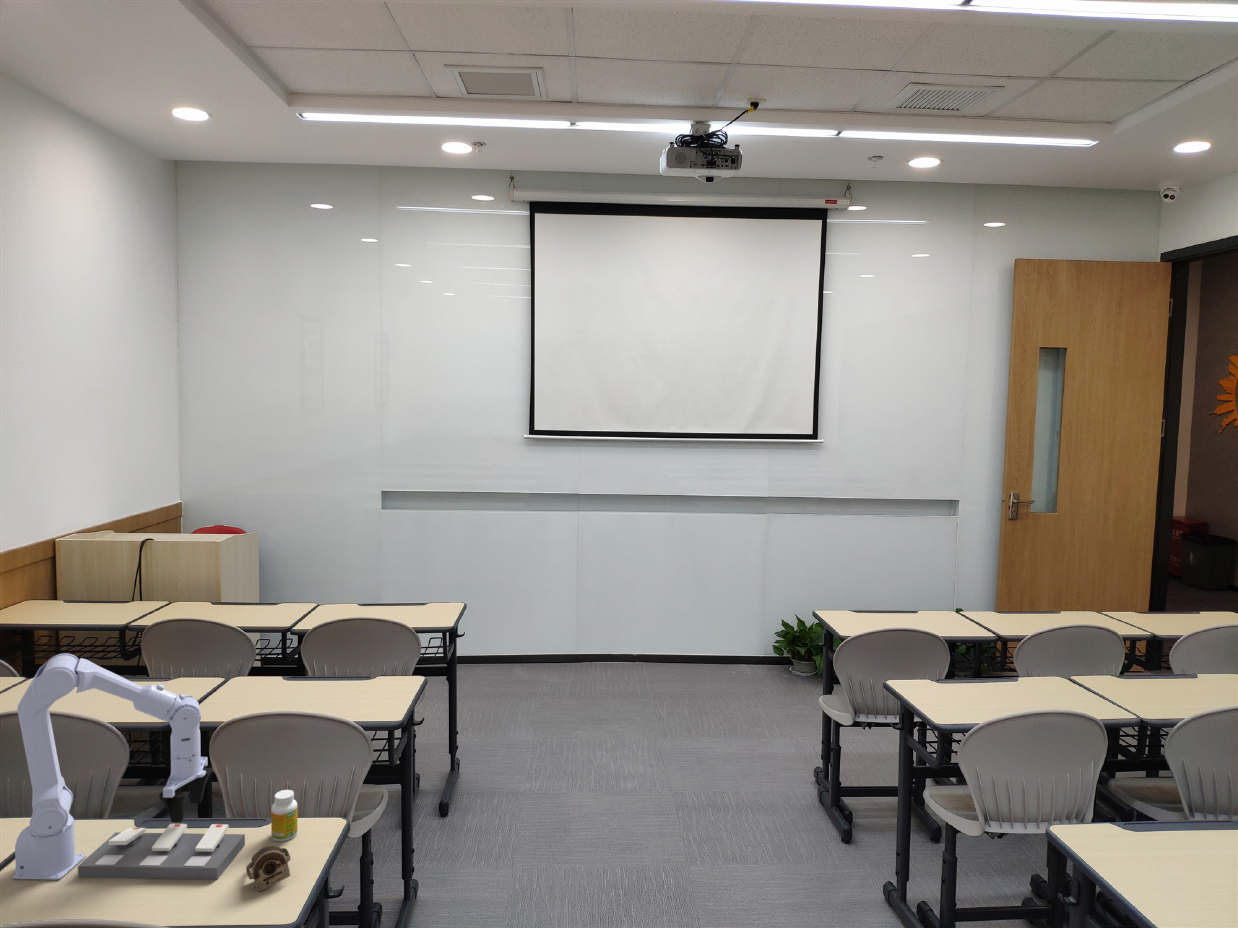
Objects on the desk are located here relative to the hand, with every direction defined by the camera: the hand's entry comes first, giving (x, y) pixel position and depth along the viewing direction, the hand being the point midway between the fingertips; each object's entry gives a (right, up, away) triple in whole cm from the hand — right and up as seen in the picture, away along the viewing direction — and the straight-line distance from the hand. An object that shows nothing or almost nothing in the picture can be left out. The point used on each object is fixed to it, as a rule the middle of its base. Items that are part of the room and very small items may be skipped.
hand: (186, 811), depth 168 cm
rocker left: (-9, -2, -7) cm, 11 cm away
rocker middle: (0, -3, -7) cm, 7 cm away
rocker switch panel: (0, -7, -8) cm, 11 cm away
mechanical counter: (+24, -8, -11) cm, 27 cm away
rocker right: (+9, -3, -6) cm, 11 cm away
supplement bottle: (+21, -7, +2) cm, 22 cm away
